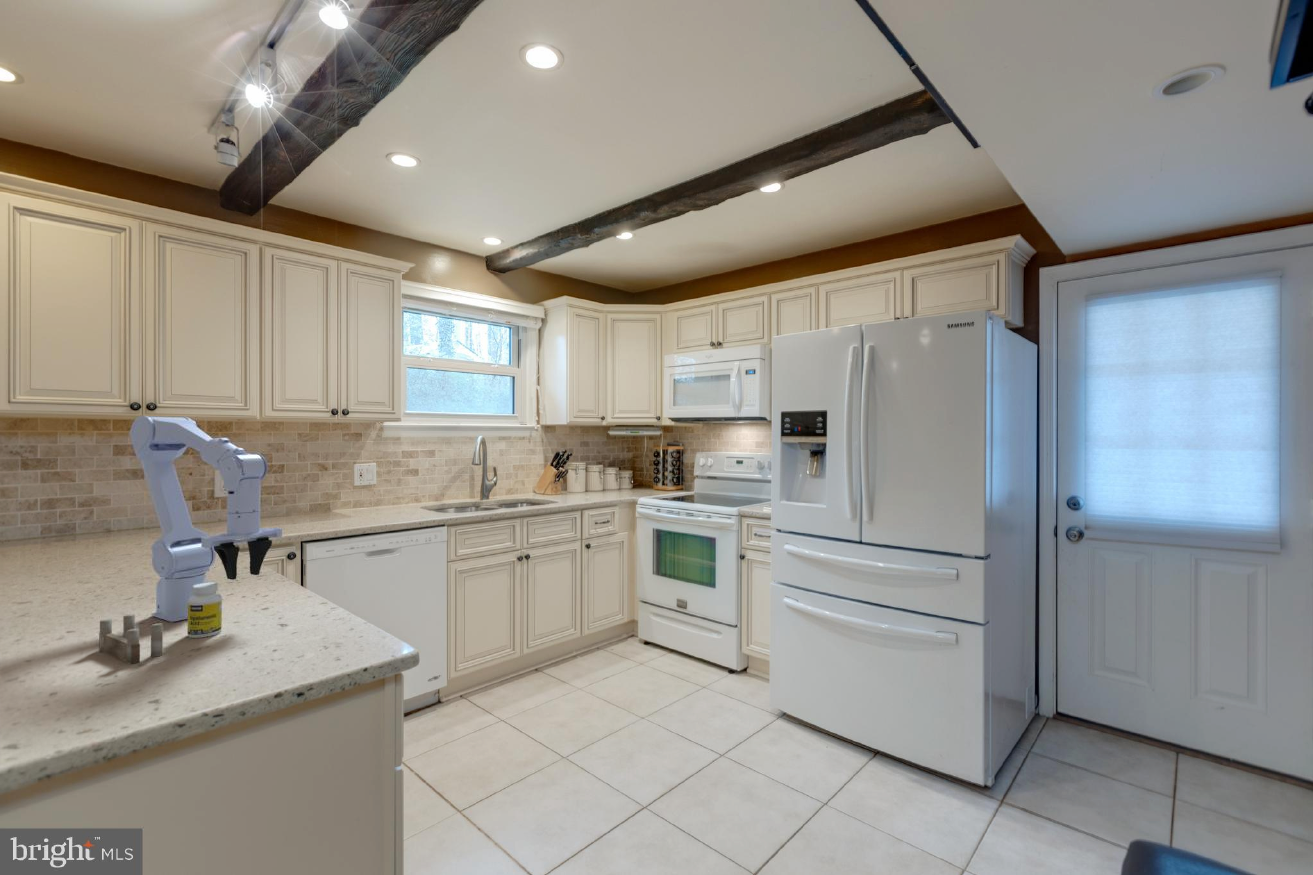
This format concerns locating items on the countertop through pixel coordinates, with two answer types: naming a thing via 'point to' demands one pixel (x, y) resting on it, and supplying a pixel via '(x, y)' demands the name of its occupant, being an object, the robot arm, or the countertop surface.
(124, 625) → the pin seat
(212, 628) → the supplement bottle
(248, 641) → the countertop surface
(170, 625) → the countertop surface
